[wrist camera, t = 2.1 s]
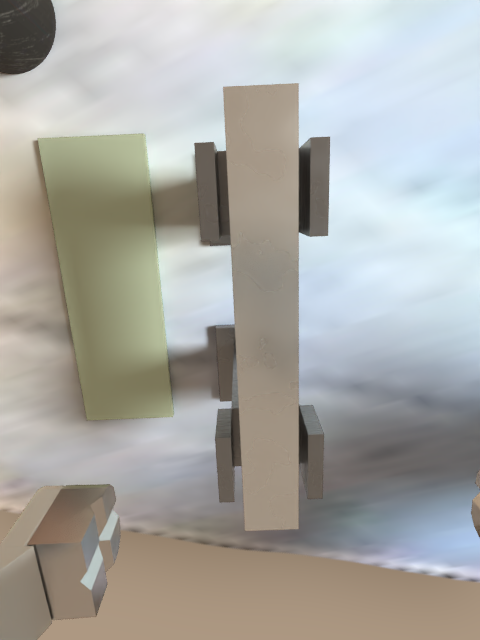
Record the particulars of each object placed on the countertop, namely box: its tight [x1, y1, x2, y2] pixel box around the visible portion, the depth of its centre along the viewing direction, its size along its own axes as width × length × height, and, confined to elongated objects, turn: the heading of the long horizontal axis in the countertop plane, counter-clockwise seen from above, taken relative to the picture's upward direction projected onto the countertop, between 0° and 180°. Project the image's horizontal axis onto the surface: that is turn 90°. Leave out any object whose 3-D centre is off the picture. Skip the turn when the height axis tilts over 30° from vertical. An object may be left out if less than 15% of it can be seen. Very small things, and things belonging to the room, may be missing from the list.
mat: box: [38, 134, 174, 420], centre depth 33 cm, size 8×24×1 cm, turn 2°
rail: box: [223, 83, 299, 531], centre depth 20 cm, size 3×22×3 cm, turn 3°
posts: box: [194, 137, 330, 502], centre depth 26 cm, size 7×21×15 cm, turn 3°
